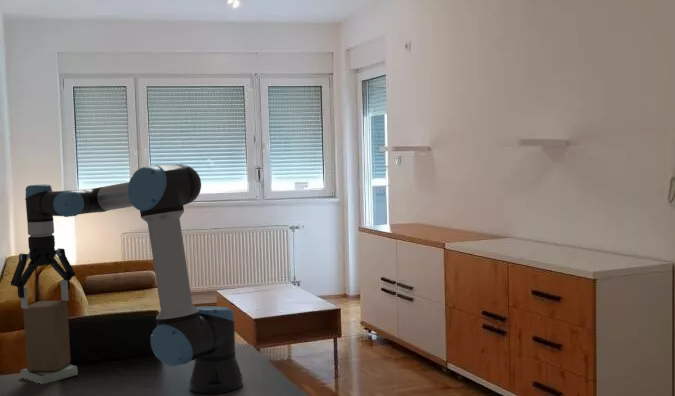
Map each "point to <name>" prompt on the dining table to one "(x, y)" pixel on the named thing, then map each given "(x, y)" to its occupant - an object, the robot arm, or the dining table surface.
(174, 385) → the dining table surface
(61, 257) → the robot arm
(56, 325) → the wooden block
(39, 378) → the dock
